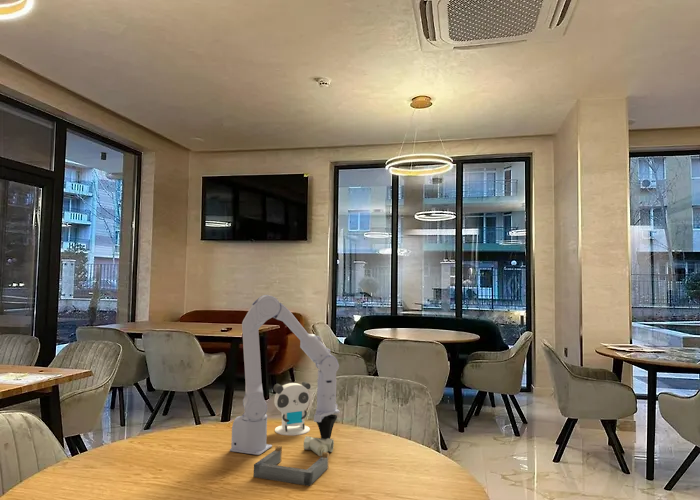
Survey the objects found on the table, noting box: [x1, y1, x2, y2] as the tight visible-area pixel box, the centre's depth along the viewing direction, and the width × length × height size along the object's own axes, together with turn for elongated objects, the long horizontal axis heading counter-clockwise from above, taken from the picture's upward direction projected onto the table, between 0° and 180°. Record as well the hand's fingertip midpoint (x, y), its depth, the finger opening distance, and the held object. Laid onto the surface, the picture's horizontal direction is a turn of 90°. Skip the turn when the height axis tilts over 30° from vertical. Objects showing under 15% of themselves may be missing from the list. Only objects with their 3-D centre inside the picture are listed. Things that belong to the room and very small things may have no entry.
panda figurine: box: [273, 381, 311, 436], centre depth 158 cm, size 12×11×15 cm
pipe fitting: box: [303, 435, 335, 457], centre depth 137 cm, size 8×4×7 cm
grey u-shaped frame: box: [253, 445, 330, 487], centre depth 122 cm, size 15×12×4 cm
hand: (325, 440), depth 144 cm, fingers closed
